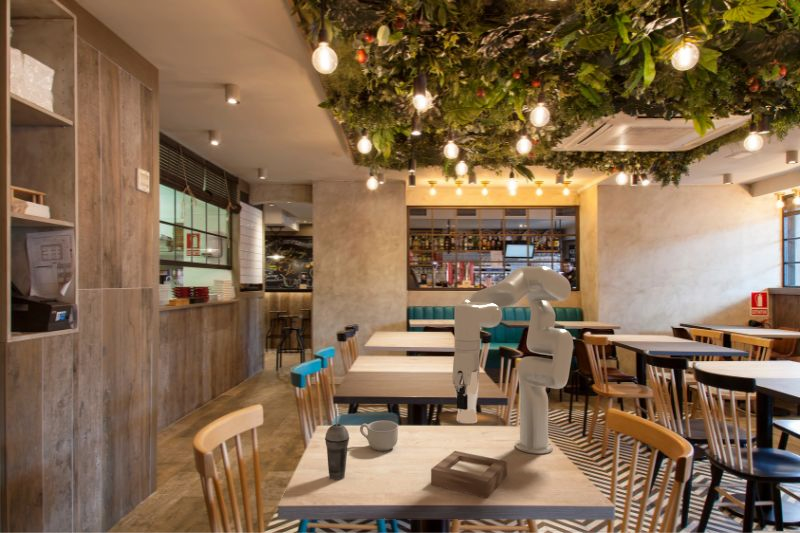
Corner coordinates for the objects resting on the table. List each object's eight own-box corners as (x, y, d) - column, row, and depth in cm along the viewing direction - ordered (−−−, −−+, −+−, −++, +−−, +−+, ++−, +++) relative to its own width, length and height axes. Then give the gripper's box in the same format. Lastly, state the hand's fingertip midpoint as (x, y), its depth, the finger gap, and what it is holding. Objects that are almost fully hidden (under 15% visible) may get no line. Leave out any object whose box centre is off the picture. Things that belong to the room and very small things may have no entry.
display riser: (454, 465, 158) (454, 450, 158) (507, 476, 149) (507, 461, 149) (431, 484, 143) (431, 468, 143) (487, 498, 135) (487, 481, 135)
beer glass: (477, 425, 144) (477, 372, 144) (453, 423, 145) (453, 371, 145) (479, 418, 150) (479, 368, 151) (456, 416, 152) (456, 367, 152)
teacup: (403, 446, 175) (404, 423, 175) (386, 456, 165) (386, 431, 166) (371, 439, 182) (371, 417, 182) (353, 448, 173) (353, 424, 173)
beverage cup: (329, 484, 143) (329, 414, 143) (321, 474, 150) (321, 408, 150) (352, 479, 146) (353, 411, 147) (344, 470, 153) (344, 405, 153)
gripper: (467, 341, 157) (467, 398, 157) (442, 348, 142) (442, 411, 142) (489, 343, 153) (489, 401, 153) (467, 350, 139) (467, 415, 138)
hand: (467, 405), depth 148 cm, fingers closed on beer glass, 6 cm apart
